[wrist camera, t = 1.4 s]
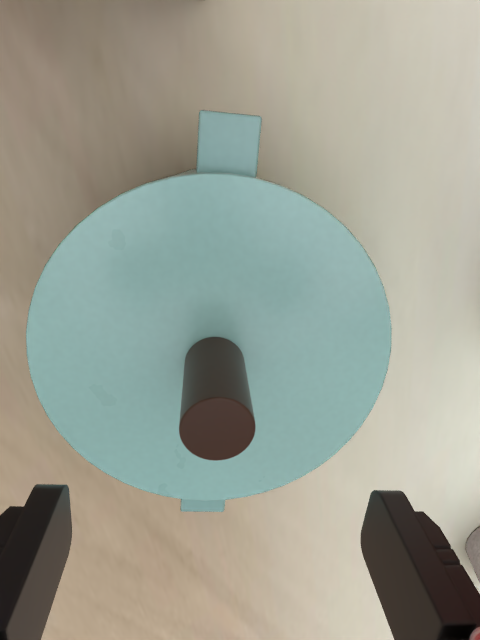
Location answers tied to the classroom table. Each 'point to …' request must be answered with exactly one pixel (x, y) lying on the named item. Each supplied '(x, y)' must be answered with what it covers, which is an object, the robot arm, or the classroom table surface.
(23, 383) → the classroom table surface
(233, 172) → the pot
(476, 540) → the house plant
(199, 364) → the pot lid
